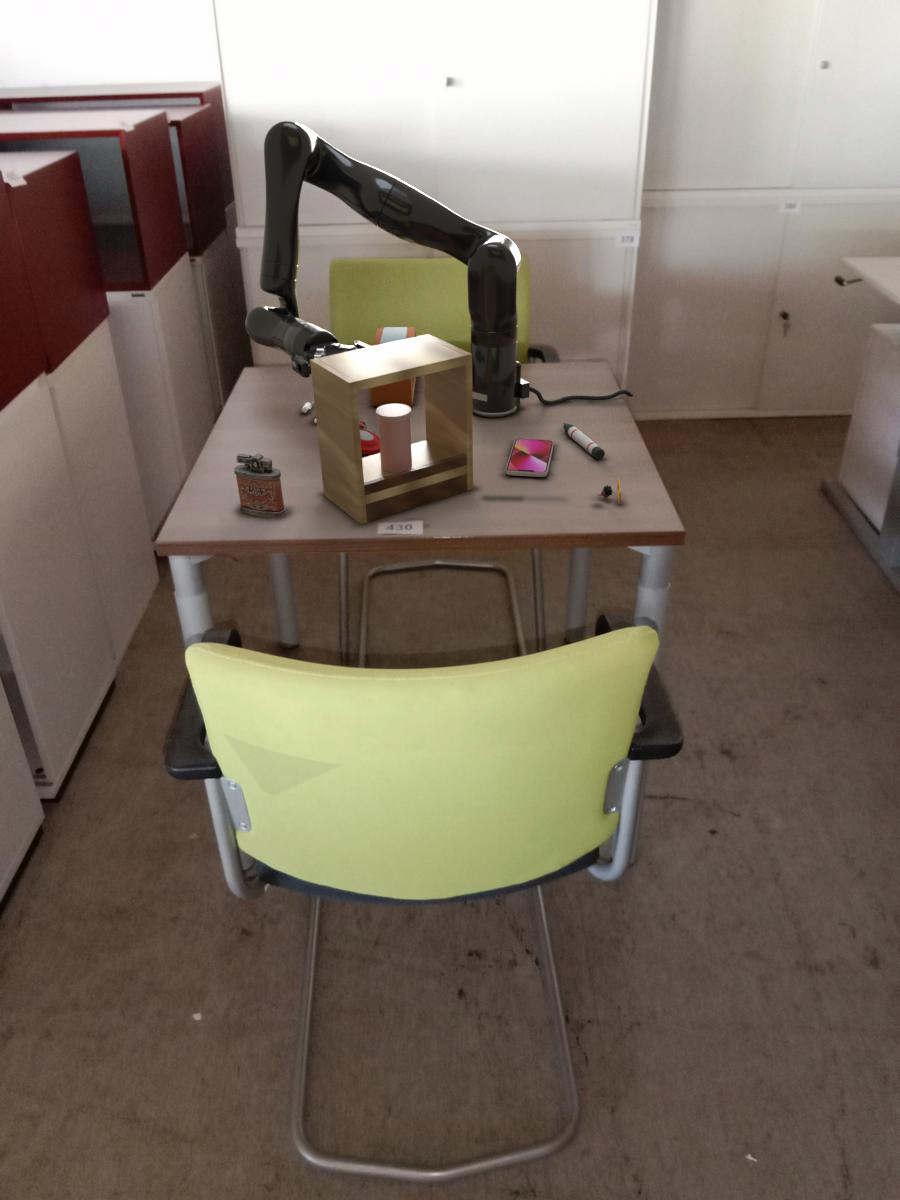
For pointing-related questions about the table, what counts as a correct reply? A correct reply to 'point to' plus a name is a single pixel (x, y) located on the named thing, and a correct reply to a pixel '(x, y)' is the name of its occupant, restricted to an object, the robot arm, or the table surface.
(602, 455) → the marker
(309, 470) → the table surface
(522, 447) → the smartphone
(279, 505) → the lighter
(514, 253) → the robot arm
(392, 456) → the lidded canister
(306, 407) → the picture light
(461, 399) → the shelf
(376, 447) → the tracker holder
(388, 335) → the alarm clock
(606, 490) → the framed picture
